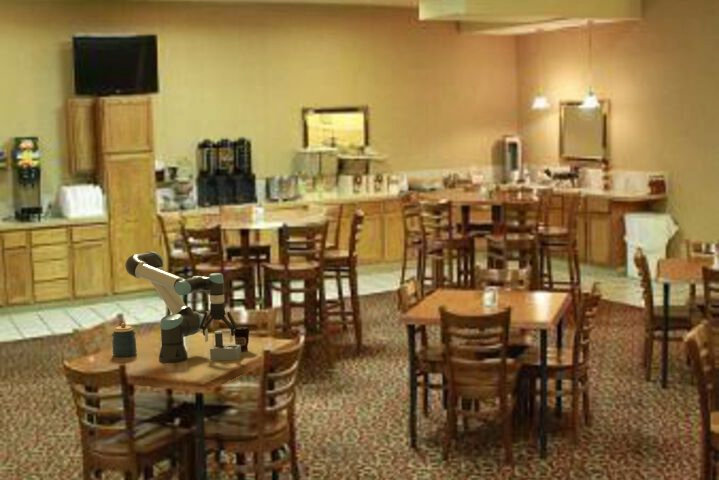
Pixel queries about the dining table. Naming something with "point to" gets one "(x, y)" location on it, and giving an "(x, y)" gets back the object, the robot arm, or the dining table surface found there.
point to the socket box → (225, 352)
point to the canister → (124, 341)
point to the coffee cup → (242, 338)
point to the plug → (218, 339)
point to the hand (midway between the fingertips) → (218, 341)
